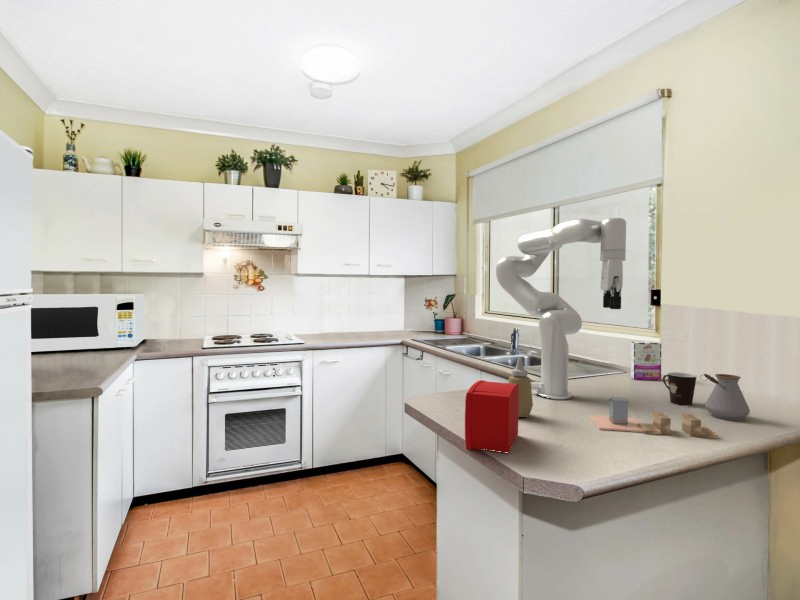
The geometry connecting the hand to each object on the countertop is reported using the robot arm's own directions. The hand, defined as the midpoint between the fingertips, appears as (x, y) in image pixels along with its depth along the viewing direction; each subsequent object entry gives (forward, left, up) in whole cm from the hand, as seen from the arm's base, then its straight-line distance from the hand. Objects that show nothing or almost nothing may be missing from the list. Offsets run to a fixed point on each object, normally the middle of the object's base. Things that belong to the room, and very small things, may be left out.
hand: (611, 308), depth 152 cm
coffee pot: (+30, -6, -34) cm, 45 cm away
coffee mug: (+26, +14, -34) cm, 45 cm away
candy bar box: (+27, +55, -34) cm, 70 cm away
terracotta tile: (-2, -19, -33) cm, 38 cm away
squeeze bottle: (-30, -16, -34) cm, 48 cm away
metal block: (-2, -19, -33) cm, 38 cm away
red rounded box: (-38, -42, -34) cm, 66 cm away
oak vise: (+12, -23, -33) cm, 42 cm away
